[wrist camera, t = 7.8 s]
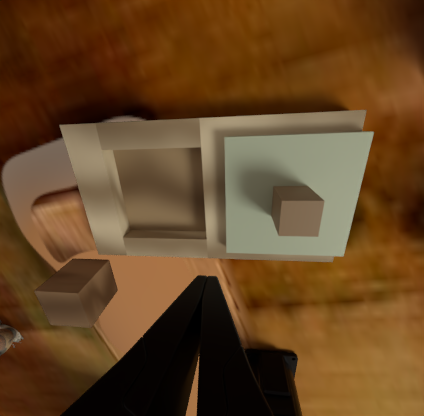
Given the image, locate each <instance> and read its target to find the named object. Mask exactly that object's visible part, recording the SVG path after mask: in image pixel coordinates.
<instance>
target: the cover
mask: <svg viewBox="0 0 424 416" xmlns="http://www.w3.org/2000/svg"><path fill="white" fill-rule="evenodd" d="M373 134H374V132H370V131H360V132H334V133H307V134H281V135H254V136H228V137H224V139H225V196H226V253H248V254H283V255H317V256H344V252H345V248H346V244H347V240H348V236H349V232H350V228H351V224H352V219H353V215H354V211H355V207H356V203H357V199H358V195H359V191H360V187H361V183H362V179H363V175H364V171H365V167H366V162H367V158H368V154H369V150H370V146H371V142H372V138H373Z"/></svg>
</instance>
